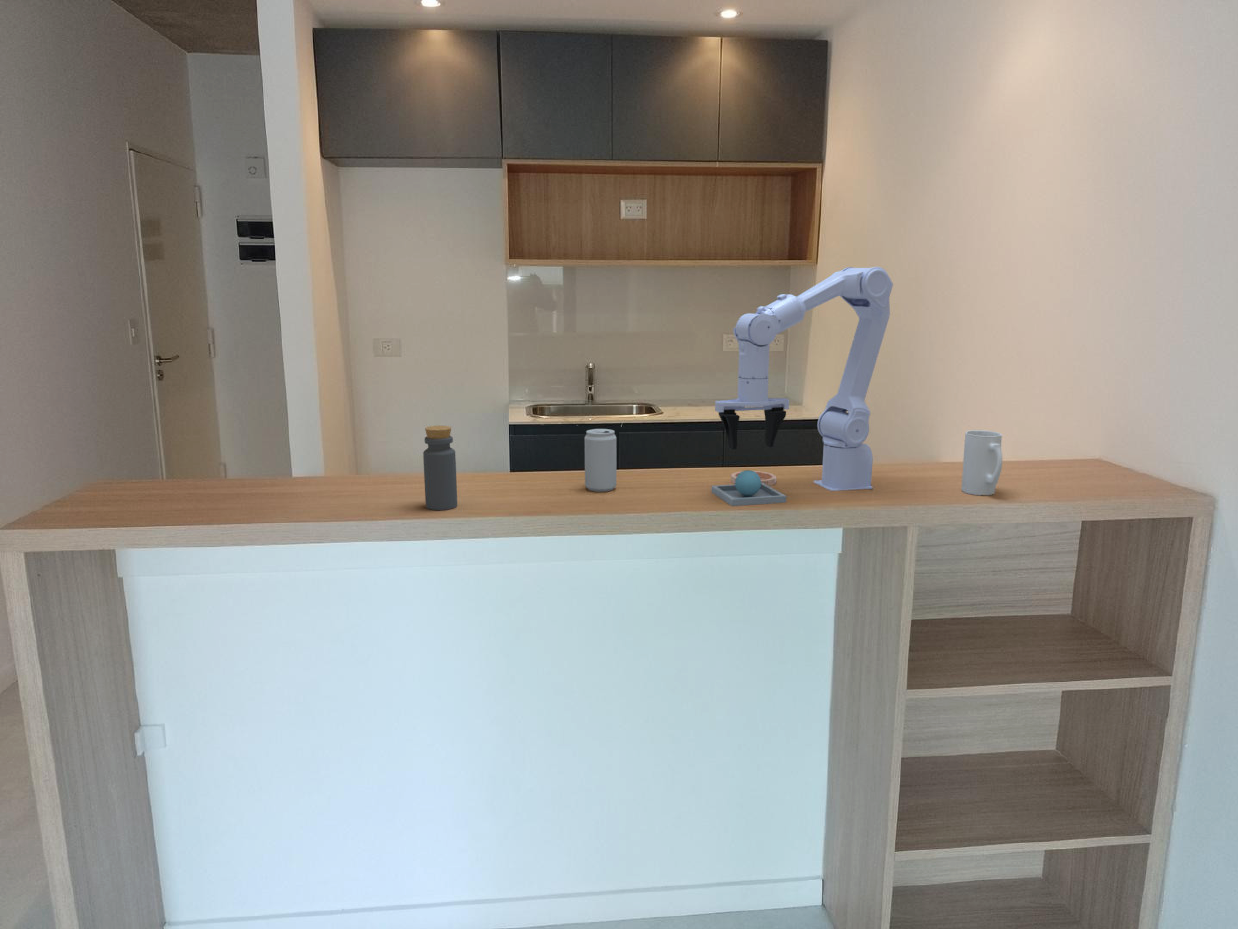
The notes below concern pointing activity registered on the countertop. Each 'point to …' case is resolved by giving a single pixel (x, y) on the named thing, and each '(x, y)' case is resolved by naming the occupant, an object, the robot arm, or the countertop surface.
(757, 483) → the ball
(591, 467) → the beverage can
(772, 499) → the tray
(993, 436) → the mug
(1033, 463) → the countertop surface
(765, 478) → the dish
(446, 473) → the bottle
